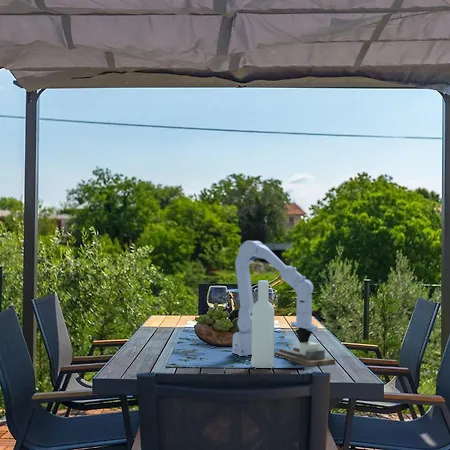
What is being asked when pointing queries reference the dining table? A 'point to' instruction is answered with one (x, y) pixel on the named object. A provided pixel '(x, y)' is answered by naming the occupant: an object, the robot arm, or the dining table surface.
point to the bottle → (263, 329)
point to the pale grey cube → (307, 347)
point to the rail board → (306, 362)
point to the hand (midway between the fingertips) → (303, 348)
